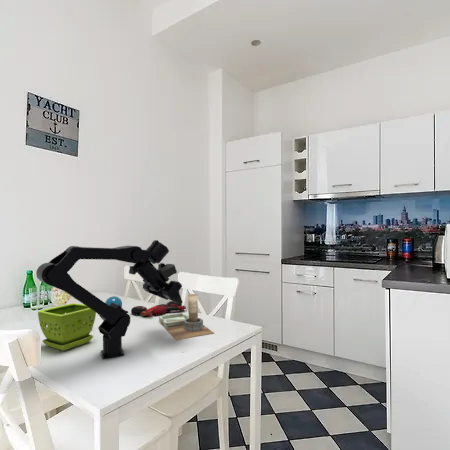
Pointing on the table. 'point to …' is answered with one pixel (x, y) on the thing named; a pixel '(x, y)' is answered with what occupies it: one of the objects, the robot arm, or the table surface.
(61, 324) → the flower pot
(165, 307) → the toy motorcycle
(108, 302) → the ball
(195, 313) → the dowel
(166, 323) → the stand
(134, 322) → the table surface
